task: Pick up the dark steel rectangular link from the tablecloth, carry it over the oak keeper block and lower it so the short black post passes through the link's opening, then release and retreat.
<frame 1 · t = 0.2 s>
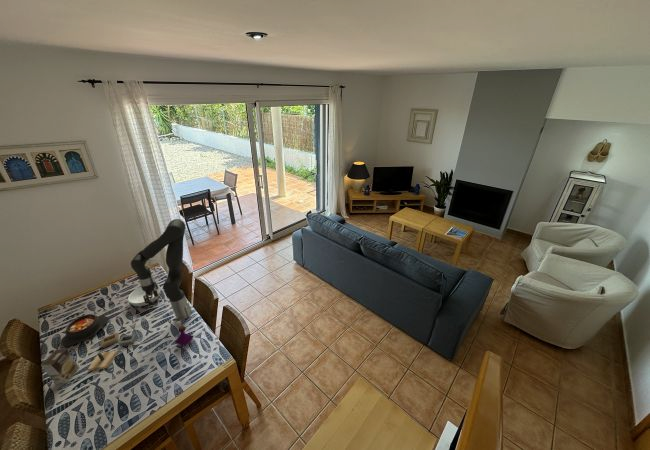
hand: (154, 300, 172), 17 cm above the table, tool pointing down, fingers open, 8 cm apart
casserole: (87, 332, 171), on the table
keeper: (103, 361, 152), on the table
coffee box: (68, 375, 145), on the table
link: (128, 341, 164), on the table
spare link: (111, 341, 164), on the table
serving bowl: (147, 300, 196), on the table
perfume bottle: (185, 342, 163), on the table
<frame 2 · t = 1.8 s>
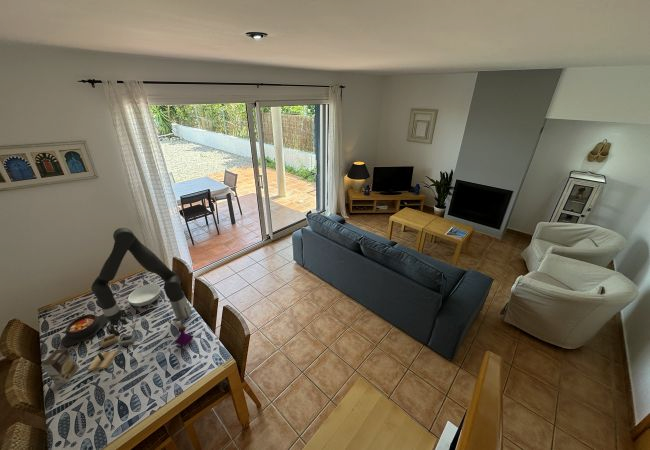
hand: (121, 329, 159), 11 cm above the table, tool pointing down, fingers open, 8 cm apart
nothing on the table moved.
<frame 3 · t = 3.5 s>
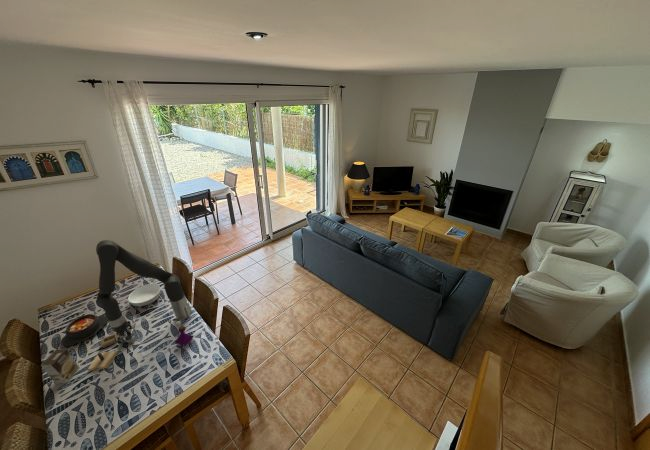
hand: (128, 340, 163), 1 cm above the table, tool pointing down, fingers closed on link, 5 cm apart
link: (128, 341, 164), on the table, touching gripper
everything else where it was.
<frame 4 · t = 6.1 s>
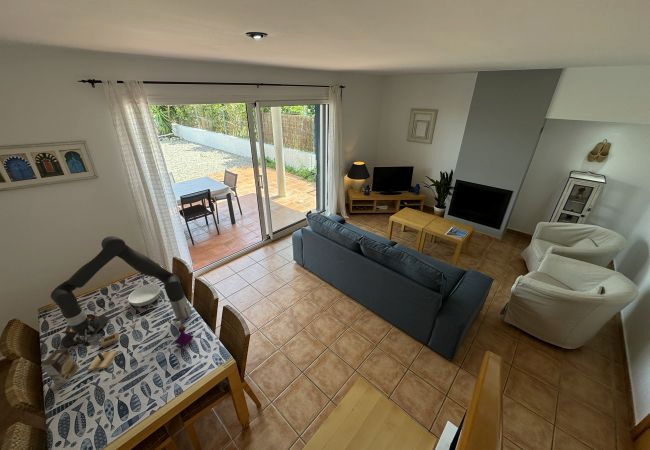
hand: (90, 340, 144), 18 cm above the table, tool pointing down, fingers closed on link, 5 cm apart
link: (91, 342, 144), point 17 cm above the table, touching gripper
everything else where it was.
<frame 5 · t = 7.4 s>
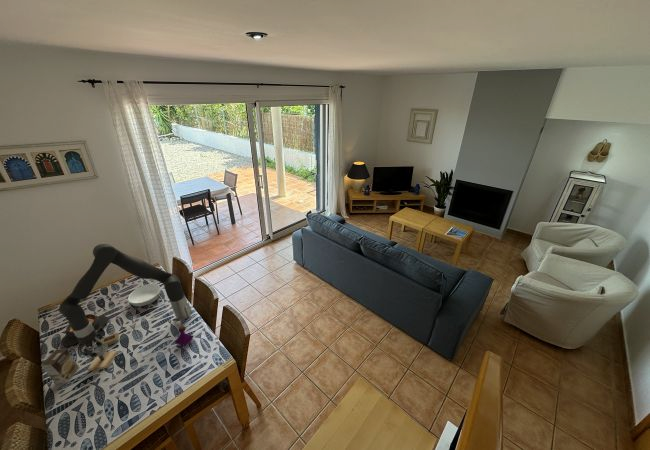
hand: (97, 351, 148), 9 cm above the table, tool pointing down, fingers closed on link, 5 cm apart
link: (98, 352, 148), point 8 cm above the table, touching gripper
everything else where it was.
when the fingers open (4 cm above the table, at t = 8.7 s): link drops 2 cm, resting on keeper.
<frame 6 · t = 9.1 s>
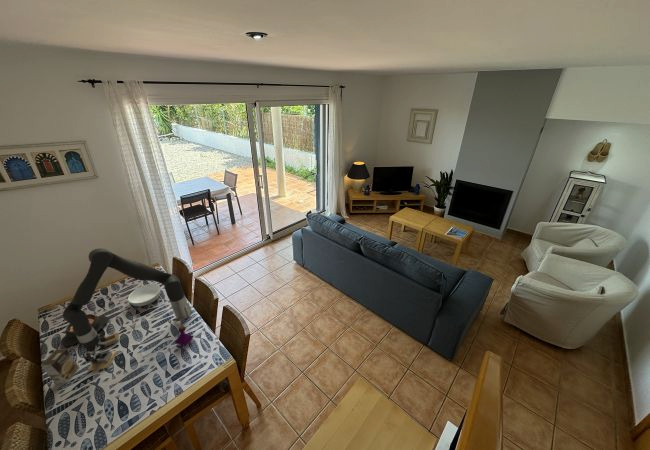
hand: (100, 355, 150), 5 cm above the table, tool pointing down, fingers open, 8 cm apart
link: (102, 359, 151), point 1 cm above the table, touching keeper
everything else where it was.
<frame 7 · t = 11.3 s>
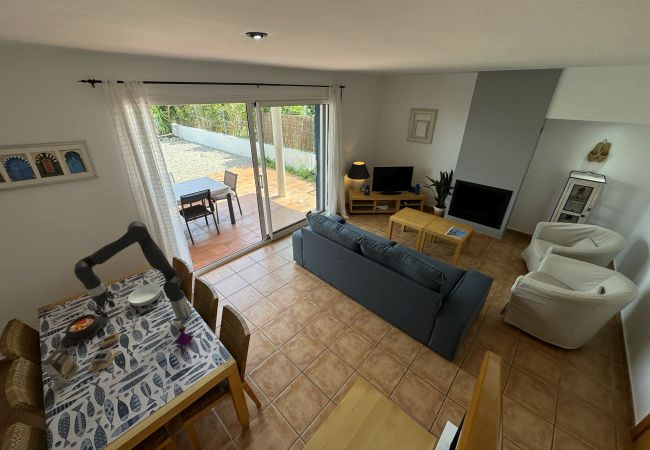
hand: (109, 311, 154), 24 cm above the table, tool pointing down, fingers open, 8 cm apart
nothing on the table moved.
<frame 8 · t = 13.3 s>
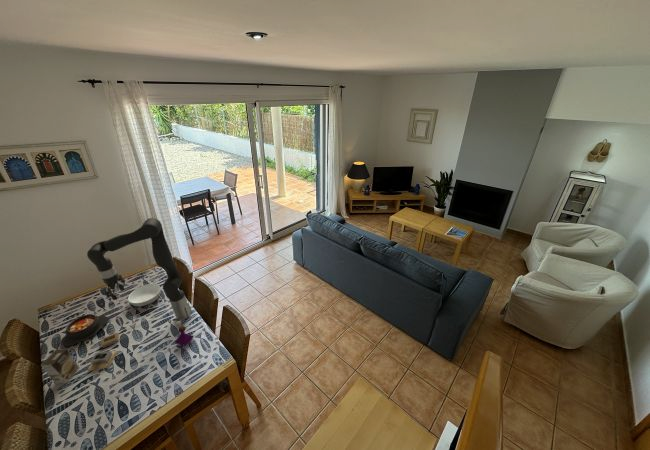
hand: (119, 294, 161), 28 cm above the table, tool pointing down, fingers open, 8 cm apart
nothing on the table moved.
at the end: link 0.1 cm off-centre on the keeper, point 1.5 cm above the keeper's base; the gripper is holding nothing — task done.
